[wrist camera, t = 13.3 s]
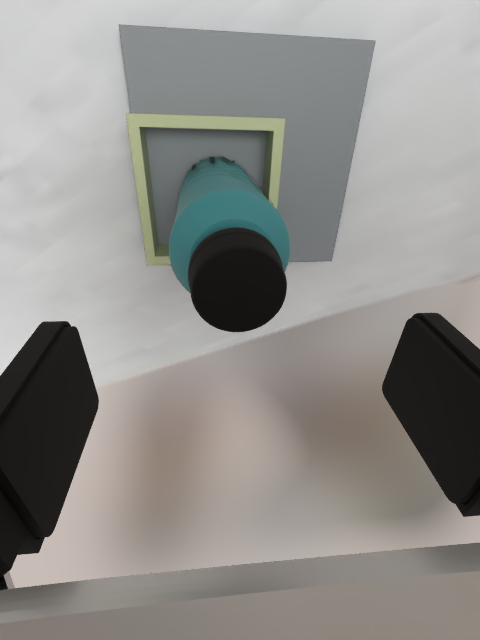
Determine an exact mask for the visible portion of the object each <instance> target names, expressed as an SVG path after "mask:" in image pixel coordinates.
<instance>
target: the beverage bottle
mask: <svg viewBox="0 0 480 640" xmlns="http://www.w3.org/2000/svg"><path fill="white" fill-rule="evenodd" d="M211 156H213V155H211ZM211 156H209V158H207V159H206V157H205V159H204V158H203V159H204V160H203V159H202V158H201V159H202V160H200V162H198V163H197V164H196V163H193V164H194V165H193V166H192V168H191V169H190V168H189V169H190V170H189V171H188V173H187V171H186V172H185V173H187V175H186V176H185V179H184V181H183V185H182V189H181V193H180V197H179V201H178V208H177V213H176V218H175V223H174V225H173V227H172V231H171V234H170V240H169V257H170V262H171V266H172V268H173V271H174V273H175V275H176V277H177V279H178V280H179V281H180V283H181V284H182V285H183V286H184V287H185V289H186V290H187V291H189V292H190V293H191V298H192V302H193V304H194V307H195V309H196V310H197V312H198V313H199V315H200V316H201V317H202V318H203V319H204V320H205V321H206V322H207V323H208V324H210V325H212V326H213V327H216V328H218V329H221V330H224V331H229V332H244V331H249V330H253V329H256V328H258V327H261V326H262V325H264V324H266V323H267V322H268V321H270V320H271V319H272V318H273V317H274V316H275V315H276V314H277V313H278V311H279V310H280V308H281V307H282V305H283V302H284V300H285V296H286V289H287V281H286V276H285V273H284V272H285V270H286V267H287V265H288V261H289V256H290V237H289V232H288V229H287V226H286V224H285V221H284V219H283V218H282V216H281V214H280V213H279V212H278V211H277V209H276V208H275V207H274V206H273V203H272V202H271V203H272V204H271V203H270V201H268V200H269V198H268V197H267V198H268V200H267V198H266V197H265V196H264V195H263V193H262V192H261V191H262V190H261V191H260V190H259V188H258V187H257V186H256V185H257V184H255V183H254V182H253V179H254V178H253V177H251V178H253V179H251V178H250V177H249V176H248V174H247V173H246V172H245V171H244V169H243V168H242V167H241V166H242V165H241V164H240V165H241V166H239V165H238V164H237V163H235V161H234V160H233V161H231V160H230V159H226V157H227V156H226V157H224V156H223V157H219V156H216V157H211ZM221 156H222V155H221ZM243 167H244V166H243ZM247 172H248V171H247ZM249 174H250V173H249ZM250 176H251V175H250ZM182 179H183V178H182ZM254 181H255V180H254ZM180 186H181V185H180ZM260 187H261V186H260ZM179 189H180V188H179ZM178 194H179V192H178ZM177 198H178V197H177ZM270 200H271V199H270ZM175 204H176V205H177V200H176V203H175Z"/></svg>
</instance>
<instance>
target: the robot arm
mask: <svg viewBox="0 0 480 640" xmlns="http://www.w3.org/2000/svg"><path fill="white" fill-rule="evenodd" d="M382 391H383V394H384V396H385V398H386V400H387V401H388V403H389V405H390V406H391V408H392V410H393V411H394V413H395V414H396V416H397V418H398V419H399V421H400V422H401V424H402V426H403V427H404V429H405V430H406V432H407V434H408V435H409V437H410V439H411V440H412V442H413V443H414V445H415V447H416V448H417V450H418V451H419V453H420V455H421V456H422V458H423V459H424V461H425V463H426V464H427V466H428V468H429V469H430V471H431V472H432V474H433V476H434V477H435V479H436V481H437V482H438V484H439V485H440V487H441V489H442V490H443V492H444V493H445V495H446V496H447V498H448V499H449V500H450V501H451V502H452V503H455V504H456V505H457V507H458V509H459V510H460V512H461V513H462V515H463V516H464V517H465V516H478V515H480V349H479V348H478V347H476V346H475V345H474V344H473V343H472V342H471V341H470V340H469V339H467V338H466V337H465V336H464V335H463V334H462V333H461V332H459V331H458V330H457V329H456V328H455V327H454V326H453V325H451V324H450V323H449V322H448V321H447V320H446V319H445V318H443V317H442V316H441V315H440V314H438V313H417V314H414V315H413V316H412V318H410V319H408V320H407V322H406V324H405V327H404V329H403V332H402V335H401V338H400V340H399V343H398V345H397V348H396V350H395V353H394V356H393V358H392V361H391V364H390V366H389V369H388V371H387V374H386V377H385V379H384V382H383V385H382ZM98 403H99V400H98V395H97V391H96V388H95V385H94V381H93V378H92V375H91V371H90V368H89V365H88V362H87V358H86V355H85V352H84V348H83V345H82V342H81V339H80V335H79V332H78V330H77V328H76V327H74V326H73V327H71V325H70V324H69V323H68V322H66V321H57V322H42V323H41V324H40V325H39V326H38V328H37V329H36V330H35V332H34V333H33V334H32V336H31V337H30V338H29V339H28V341H27V342H26V343H25V345H24V346H23V347H22V349H21V350H20V351H19V352H18V354H17V355H16V356H15V358H14V359H13V360H12V362H11V363H10V364H9V365H8V367H7V368H6V369H5V371H4V372H3V373H2V375H1V376H0V640H480V543H471V544H459V545H448V546H437V547H426V548H414V549H402V550H392V551H381V552H370V553H359V554H348V555H338V556H328V557H316V558H305V559H295V560H284V561H274V562H263V563H252V564H242V565H232V566H222V567H212V568H201V569H191V570H181V571H171V572H162V573H150V574H140V575H130V576H120V577H110V578H100V579H91V580H83V581H75V582H66V583H58V584H49V585H41V586H32V587H23V588H14V585H13V582H12V579H11V576H10V573H9V570H11V568H12V566H13V563H14V561H15V558H16V556H17V555H20V554H32V553H39V551H40V549H41V546H42V543H43V540H44V538H45V537H49V536H50V535H51V534H52V533H53V531H54V529H55V526H56V524H57V521H58V518H59V515H60V513H61V510H62V507H63V504H64V502H65V498H66V496H67V493H68V490H69V488H70V485H71V482H72V479H73V476H74V473H75V471H76V468H77V465H78V463H79V460H80V457H81V454H82V451H83V449H84V446H85V443H86V440H87V437H88V435H89V432H90V429H91V426H92V424H93V421H94V418H95V415H96V413H97V409H98Z"/></svg>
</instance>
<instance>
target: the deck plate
mask: <svg viewBox="0 0 480 640" xmlns="http://www.w3.org/2000/svg"><path fill="white" fill-rule="evenodd" d="M119 31H120V38H121V46H122V53H123V61H124V69H125V76H126V84H127V91H128V99H129V106H130V113H126V118H127V125H128V132H129V139H130V146H131V154H132V161H133V168H134V175H135V182H136V190H137V197H138V204H139V211H140V218H141V226H142V233H143V240H144V247H145V254H146V262H147V265H171V262H170V257H169V240H170V234H171V231H172V227H173V225H174V223H175V218H176V213H177V208H178V201H179V197H180V193H181V189H182V185H183V181H184V179H185V176H186V175H187V173H188V171H189V170H190V169H191V168H192V166H193V165H194V164H193V163H196V164H197V163H198V162H200V160H202V159H203V158H204V159H205V157H206V159H207V158H209V156H211V155H213V156H211V157H216V156H219V157H223V156H224V157H226V156H227V157H226V159H230V160H231V161H233V160H234V161H235V163H237V164H238V165H239V166H241V165H242V166H241V167H242V168H243V169H244V171H245V172H246V173H247V174H248V176H249V177H250V178H251V177H253V178H254V179H253V178H251V179H253V182H254V183H255V184H257V185H256V186H257V187H258V188H259V190H260V191H261V190H262V191H261V192H262V193H263V195H264V196H265V197H266V198H267V197H268V198H269V200H268V198H267V200H268V201H270V203H271V202H272V203H273V206H274V207H275V208H276V209H277V211H278V212H279V213H280V214H281V216H282V218H283V219H284V221H285V224H286V226H287V229H288V232H289V237H290V256H289V261H288V262H317V261H332V257H333V252H334V247H335V242H336V237H337V232H338V227H339V222H340V217H341V212H342V207H343V202H344V197H345V192H346V187H347V182H348V177H349V172H350V167H351V162H352V157H353V152H354V147H355V142H356V137H357V132H358V127H359V122H360V117H361V112H362V107H363V102H364V96H365V91H366V86H367V81H368V76H369V71H370V66H371V61H372V56H373V51H374V46H375V41H373V40H357V39H341V38H325V37H309V36H293V35H277V34H262V33H246V32H230V31H214V30H198V29H182V28H166V27H150V26H135V25H119ZM221 155H222V156H221ZM201 158H202V159H201ZM204 159H203V160H204ZM240 164H241V165H240ZM243 166H244V167H243ZM189 168H190V169H189ZM186 171H187V173H185V172H186ZM247 171H248V172H247ZM249 173H250V174H249ZM250 175H251V176H250ZM182 178H183V179H182ZM254 180H255V181H254ZM180 185H181V186H180ZM260 186H261V187H260ZM179 188H180V189H179ZM178 192H179V194H178ZM177 197H178V198H177ZM270 199H271V200H270ZM176 200H177V205H176V204H175V203H176ZM272 203H271V204H272Z"/></svg>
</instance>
